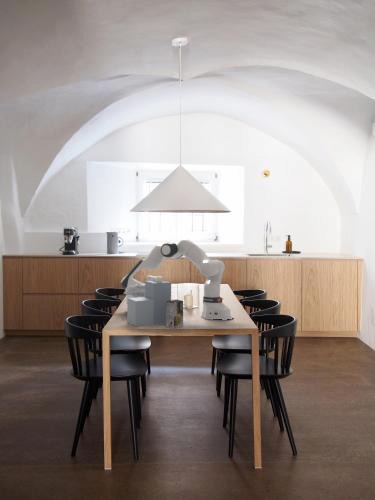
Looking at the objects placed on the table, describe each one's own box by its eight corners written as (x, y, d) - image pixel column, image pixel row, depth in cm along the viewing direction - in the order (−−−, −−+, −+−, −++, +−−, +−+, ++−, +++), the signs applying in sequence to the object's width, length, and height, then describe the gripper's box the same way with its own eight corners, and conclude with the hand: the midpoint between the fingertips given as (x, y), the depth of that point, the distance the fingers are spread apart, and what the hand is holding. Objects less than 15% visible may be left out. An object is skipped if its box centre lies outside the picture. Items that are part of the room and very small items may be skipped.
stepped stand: (127, 322, 311) (127, 281, 310) (161, 319, 322) (162, 280, 321) (135, 326, 298) (135, 283, 297) (170, 323, 310) (171, 282, 308)
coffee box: (175, 324, 305) (175, 299, 304) (183, 326, 301) (183, 300, 300) (165, 327, 298) (166, 300, 297) (173, 328, 293) (174, 301, 293)
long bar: (163, 282, 309) (163, 276, 309) (158, 282, 307) (158, 276, 307) (150, 279, 327) (150, 273, 327) (145, 279, 325) (145, 274, 325)
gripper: (122, 289, 341) (128, 281, 330) (149, 288, 350) (155, 280, 339) (123, 298, 338) (129, 290, 327) (150, 296, 348) (157, 289, 337)
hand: (143, 285), depth 333 cm, fingers open, 8 cm apart
